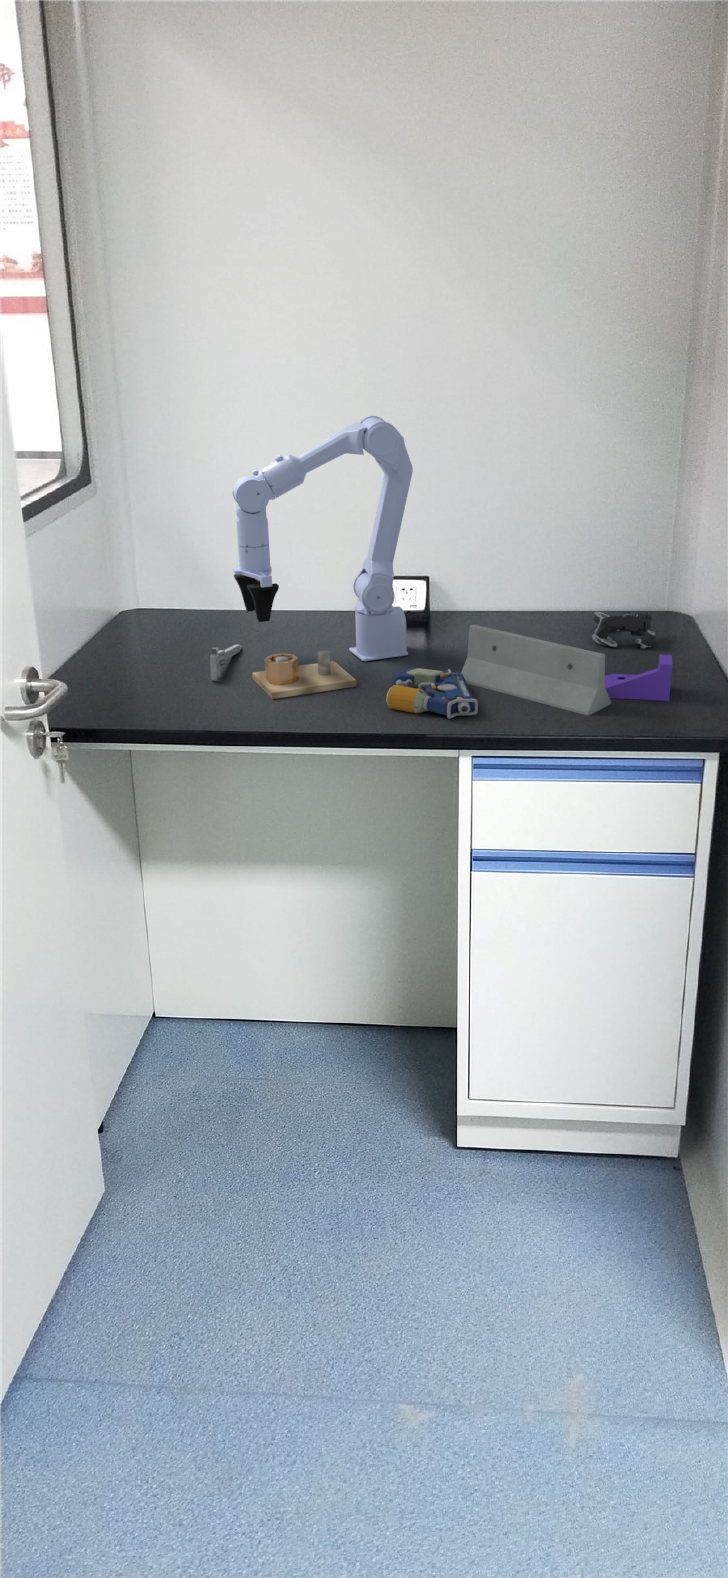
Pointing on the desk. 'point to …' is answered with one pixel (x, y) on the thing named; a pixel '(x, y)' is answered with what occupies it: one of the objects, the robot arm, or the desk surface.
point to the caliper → (221, 659)
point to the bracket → (642, 683)
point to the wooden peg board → (309, 678)
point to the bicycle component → (624, 628)
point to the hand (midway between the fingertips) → (257, 615)
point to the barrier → (536, 670)
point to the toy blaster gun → (431, 693)
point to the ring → (281, 669)
